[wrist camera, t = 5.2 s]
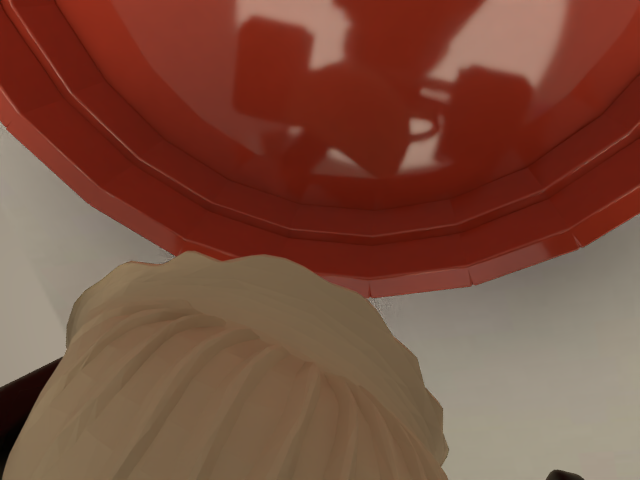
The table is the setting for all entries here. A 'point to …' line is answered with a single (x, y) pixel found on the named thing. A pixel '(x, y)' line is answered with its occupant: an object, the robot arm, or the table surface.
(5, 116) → the bowl
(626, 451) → the table surface
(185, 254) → the decorative ornament
